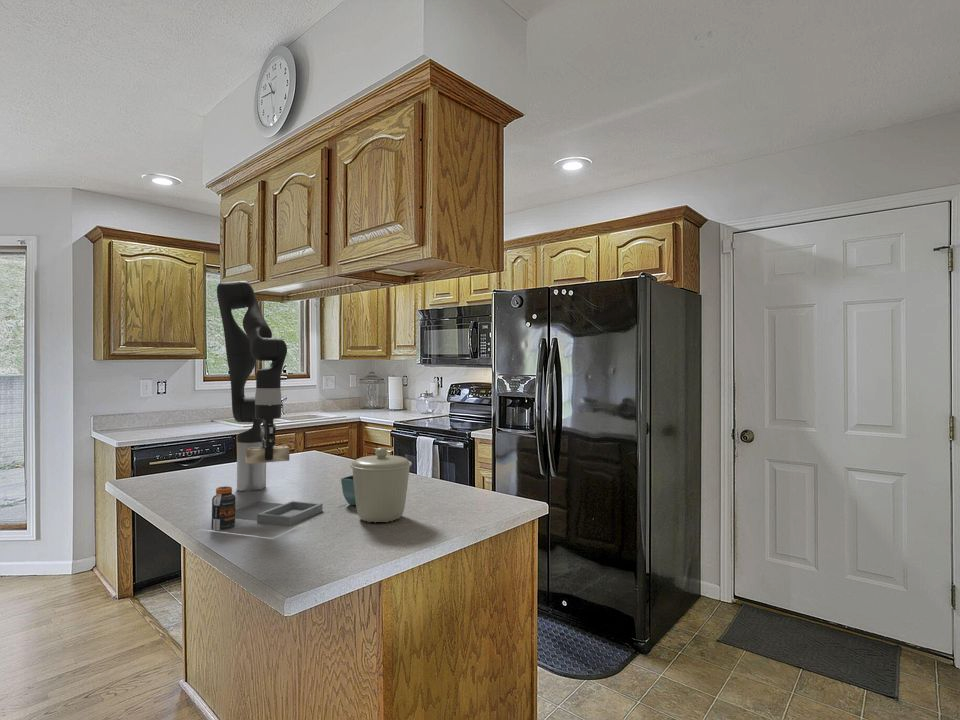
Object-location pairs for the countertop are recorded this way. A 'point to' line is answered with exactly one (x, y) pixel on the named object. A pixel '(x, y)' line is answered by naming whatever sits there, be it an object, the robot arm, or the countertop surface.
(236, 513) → the rubber mat
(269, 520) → the slate tray
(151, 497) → the countertop surface
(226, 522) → the pill bottle
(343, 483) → the flower pot
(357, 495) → the canister
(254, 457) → the wooden block
